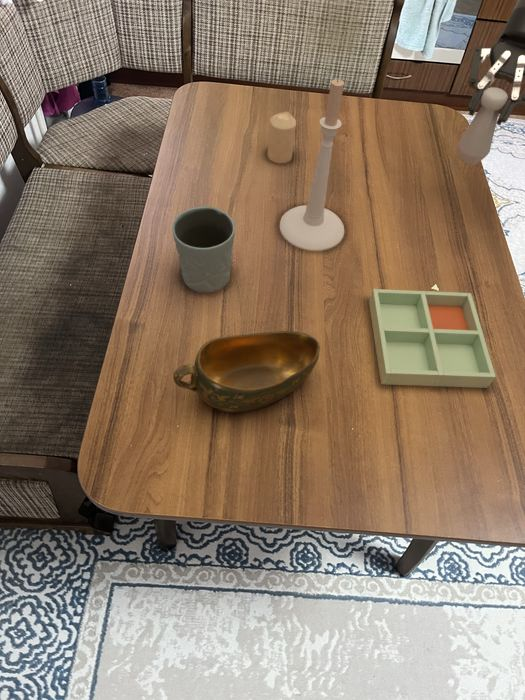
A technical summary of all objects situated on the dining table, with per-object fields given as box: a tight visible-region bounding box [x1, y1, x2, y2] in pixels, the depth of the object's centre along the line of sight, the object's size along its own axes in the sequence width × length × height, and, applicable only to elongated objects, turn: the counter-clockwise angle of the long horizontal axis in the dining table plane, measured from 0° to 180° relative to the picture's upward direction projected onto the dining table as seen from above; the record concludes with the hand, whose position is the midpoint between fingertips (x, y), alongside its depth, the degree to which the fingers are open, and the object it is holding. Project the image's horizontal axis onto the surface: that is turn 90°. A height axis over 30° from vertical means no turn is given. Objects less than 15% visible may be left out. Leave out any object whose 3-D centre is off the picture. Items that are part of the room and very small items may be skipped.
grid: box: [368, 288, 497, 389], centre depth 89 cm, size 17×17×4 cm
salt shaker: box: [457, 86, 509, 166], centre depth 96 cm, size 6×6×13 cm
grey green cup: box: [171, 205, 236, 294], centre depth 91 cm, size 10×10×12 cm
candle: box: [267, 111, 297, 164], centre depth 114 cm, size 6×6×10 cm
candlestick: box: [279, 78, 345, 252], centre depth 93 cm, size 13×13×30 cm
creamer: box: [173, 330, 321, 414], centre depth 79 cm, size 13×20×10 cm, turn 82°
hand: (485, 118), depth 93 cm, fingers closed on salt shaker, 4 cm apart
